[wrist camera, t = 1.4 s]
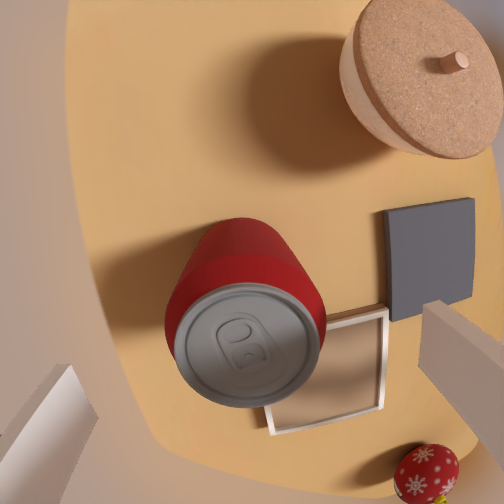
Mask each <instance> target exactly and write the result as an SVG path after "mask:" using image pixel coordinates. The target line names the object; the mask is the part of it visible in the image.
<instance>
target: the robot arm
mask: <svg viewBox="0 0 504 504" xmlns="http://www.w3.org/2000/svg"><path fill="white" fill-rule="evenodd" d="M418 367H419V368H420V369H421V370H422V371H423V372H424V373H425V375H426V376H427V377H428V378H429V379H430V380H431V382H432V383H433V384H434V385H435V386H436V387H437V389H438V390H439V391H440V392H441V393H442V394H443V396H444V397H445V398H446V399H447V400H448V402H449V403H450V404H451V405H452V406H453V408H454V409H455V410H456V411H457V412H458V414H459V415H460V416H461V417H462V418H463V420H464V421H465V422H466V423H467V425H468V426H469V427H470V428H471V430H472V431H473V432H474V433H475V434H476V436H477V437H478V438H479V439H480V441H481V442H482V443H483V445H484V446H485V447H486V448H487V449H488V451H489V452H490V453H491V455H492V456H493V457H494V458H495V460H496V461H497V462H498V464H499V465H500V466H501V468H502V469H503V470H504V346H503V345H502V344H501V343H500V342H498V341H497V340H496V339H494V338H493V337H492V336H490V335H489V334H487V333H486V332H485V331H483V330H482V329H481V328H479V327H478V326H476V325H475V324H474V323H472V322H471V321H469V320H468V319H467V318H465V317H464V316H462V315H461V314H460V313H458V312H457V311H455V310H454V309H452V308H451V307H450V306H448V305H447V304H445V303H444V302H442V301H441V300H436V301H433V302H430V303H427V304H423V315H422V330H421V343H420V353H419V362H418ZM97 420H98V416H97V414H96V412H95V411H94V409H93V407H92V405H91V403H90V401H89V400H88V398H87V396H86V394H85V392H84V390H83V388H82V386H81V384H80V382H79V380H78V378H77V376H76V374H75V372H74V370H73V368H72V366H71V364H61V365H56V366H55V367H54V368H53V369H52V371H51V372H50V373H49V374H48V375H47V377H46V378H45V379H44V380H43V381H42V383H41V384H40V385H39V386H38V388H37V389H36V390H35V391H34V393H33V394H32V395H31V397H30V398H29V399H28V401H27V402H26V403H25V404H24V406H23V407H22V408H21V410H20V411H19V412H18V413H17V415H16V416H15V417H14V419H13V420H12V421H11V423H10V424H9V425H8V427H7V428H6V430H5V431H4V432H3V433H2V434H1V435H0V504H59V503H60V500H61V498H62V496H63V493H64V491H65V489H66V486H67V484H68V482H69V479H70V477H71V475H72V473H73V471H74V468H75V466H76V464H77V462H78V460H79V457H80V455H81V453H82V451H83V449H84V447H85V444H86V443H87V440H88V438H89V436H90V434H91V432H92V430H93V428H94V426H95V424H96V422H97Z"/></svg>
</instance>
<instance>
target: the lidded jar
mask: <svg viewBox="0 0 504 504" xmlns="http://www.w3.org/2000/svg"><path fill="white" fill-rule="evenodd" d="M339 72H340V81H341V85H342V89H343V93H344V96H345V98H346V101H347V103H348V105H349V107H350V109H351V110H352V112H353V114H354V115H355V116H356V118H357V119H358V121H359V122H360V123H361V124H362V125H363V126H364V127H365V128H366V129H367V130H368V131H369V132H370V133H371V134H373V135H374V136H375V137H376V138H377V139H379V140H380V141H382V142H384V143H385V144H387V145H389V146H391V147H393V148H395V149H398V150H400V151H403V152H407V153H410V154H414V155H419V156H427V157H438V158H445V159H466V158H470V157H473V156H476V155H478V154H479V153H481V152H482V151H484V150H485V149H486V148H487V147H488V146H489V145H490V144H491V142H492V141H493V139H494V138H495V136H496V134H497V132H498V130H499V127H500V125H501V120H502V115H503V105H504V102H503V90H502V83H501V78H500V75H499V71H498V68H497V66H496V63H495V60H494V58H493V56H492V54H491V52H490V50H489V48H488V46H487V45H486V43H485V41H484V40H483V38H482V37H481V35H480V34H479V33H478V32H477V30H476V29H475V28H474V27H473V25H472V24H471V23H470V22H469V21H468V20H467V19H466V18H465V17H464V16H463V15H462V14H461V13H459V12H458V11H457V10H456V9H455V8H453V7H452V6H450V5H449V4H447V3H446V2H444V1H443V0H371V1H370V2H369V3H368V5H367V6H366V7H365V8H364V9H363V11H362V12H361V14H360V16H359V18H358V20H357V21H356V22H355V23H354V25H353V26H352V28H351V29H350V31H349V33H348V35H347V38H346V40H345V42H344V44H343V48H342V52H341V56H340V65H339Z"/></svg>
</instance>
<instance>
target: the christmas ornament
mask: <svg viewBox="0 0 504 504" xmlns="http://www.w3.org/2000/svg"><path fill="white" fill-rule="evenodd" d="M458 473H459V463H458V460H457V457H456V456H455V454H454V453H453V452H452V451H451V450H450V449H449V448H447V447H445V446H443V445H439V444H428V445H423V446H420V447H418V448H416V449H414V450H412V451H411V452H410V453H408V454H407V455H406V456H405V457H404V458H403V459H402V461H401V462H400V463H399V465H398V467H397V469H396V472H395V475H394V488H395V491H396V493H397V495H398V496H399V497H400V499H402V500H403V501H404V502H406V503H408V504H432V503H435V504H442V503H445V504H447V501H446V497H445V496H446V494H448V493H449V492H450V490H451V489H452V488H453V486H454V484H455V482H456V480H457V477H458Z"/></svg>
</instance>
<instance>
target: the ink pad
mask: <svg viewBox="0 0 504 504" xmlns="http://www.w3.org/2000/svg"><path fill="white" fill-rule="evenodd" d="M383 221H384V235H385V251H386V274H387V308H388V309H389V320H390V321H391V322H395V321H398V320H402V319H405V318H408V317H412V316H415V315H418V314H421V313H423V304H427V303H430V302H433V301H436V300H441V301H442V302H444V303H445V304H447V305H449V304H452V303H455V302H458V301H461V300H464V299H467V298H469V297H472V290H473V278H474V262H475V199H474V198H468V197H467V198H460V199H453V200H446V201H440V202H433V203H426V204H420V205H413V206H407V207H401V208H394V209H388V210H383Z"/></svg>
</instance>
